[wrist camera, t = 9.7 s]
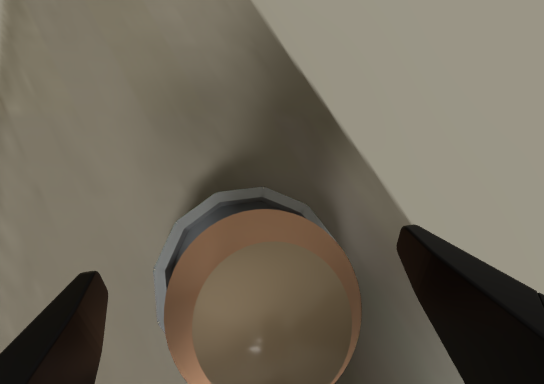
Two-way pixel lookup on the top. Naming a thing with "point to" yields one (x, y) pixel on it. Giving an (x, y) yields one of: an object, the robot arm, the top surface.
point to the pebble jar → (262, 303)
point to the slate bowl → (210, 214)
